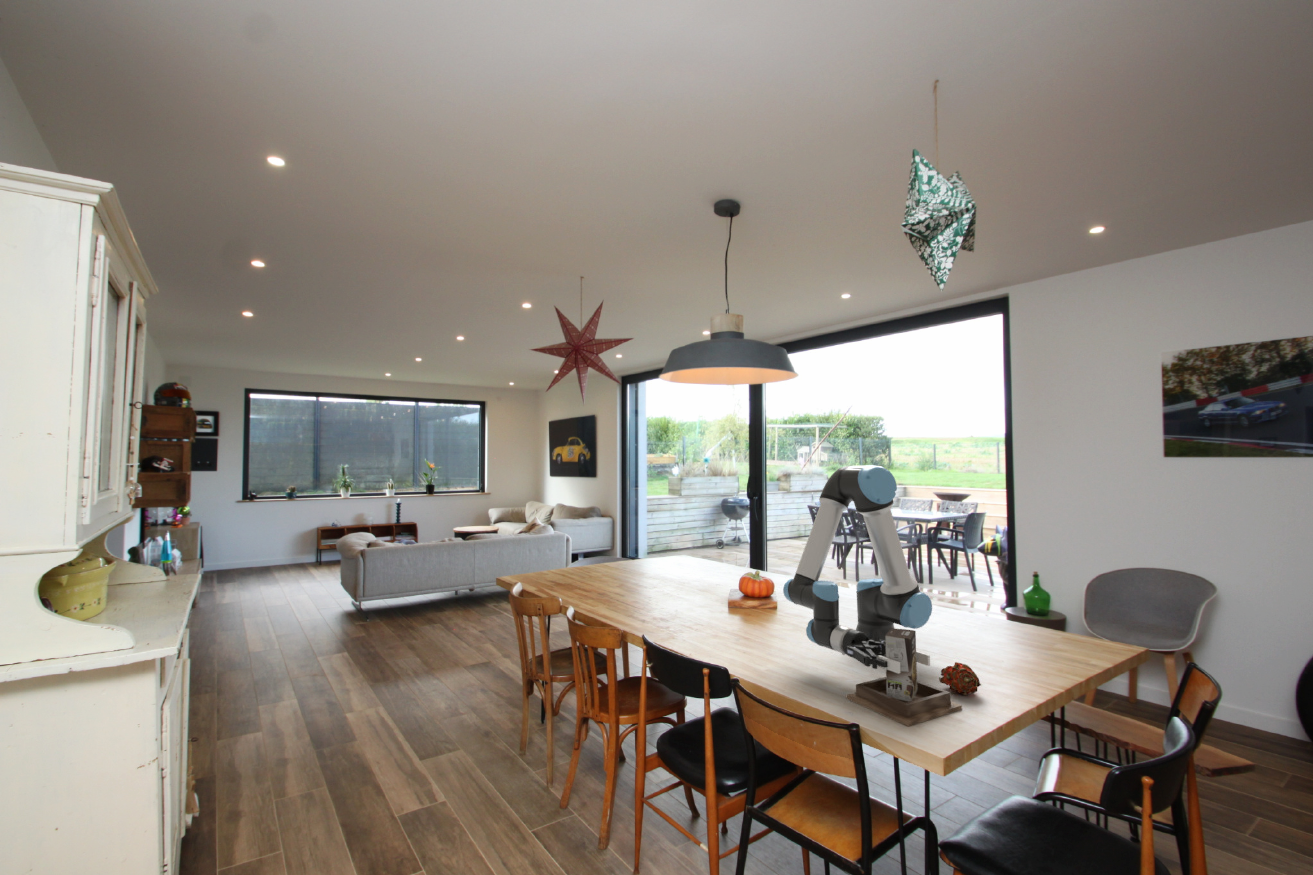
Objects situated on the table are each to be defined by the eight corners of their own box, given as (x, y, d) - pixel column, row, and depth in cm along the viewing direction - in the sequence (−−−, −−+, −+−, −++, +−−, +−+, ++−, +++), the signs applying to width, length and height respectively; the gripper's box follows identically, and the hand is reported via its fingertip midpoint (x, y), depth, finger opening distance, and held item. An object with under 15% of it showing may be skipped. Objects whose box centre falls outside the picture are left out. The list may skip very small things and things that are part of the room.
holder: (898, 684, 174) (897, 670, 174) (961, 709, 156) (961, 693, 156) (846, 698, 164) (846, 683, 165) (908, 726, 147) (907, 709, 147)
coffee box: (912, 702, 155) (910, 638, 155) (886, 697, 158) (884, 635, 159) (918, 691, 163) (916, 629, 163) (893, 686, 166) (891, 626, 167)
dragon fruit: (977, 707, 161) (943, 697, 172) (994, 684, 164) (960, 676, 175) (958, 682, 161) (926, 674, 172) (976, 659, 164) (943, 653, 175)
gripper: (879, 649, 182) (944, 670, 162) (820, 662, 171) (883, 687, 152) (878, 623, 182) (943, 642, 163) (819, 635, 171) (882, 656, 152)
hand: (914, 664), depth 157 cm, fingers closed on coffee box, 10 cm apart
